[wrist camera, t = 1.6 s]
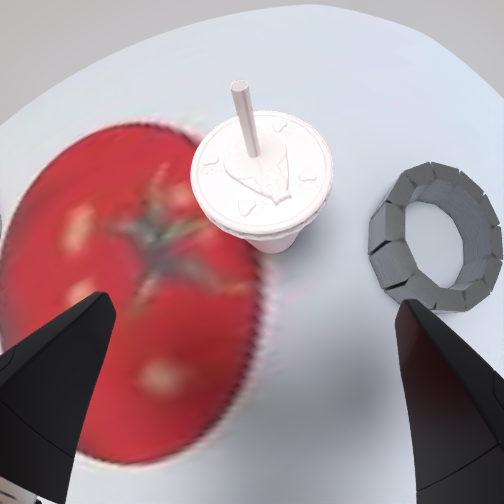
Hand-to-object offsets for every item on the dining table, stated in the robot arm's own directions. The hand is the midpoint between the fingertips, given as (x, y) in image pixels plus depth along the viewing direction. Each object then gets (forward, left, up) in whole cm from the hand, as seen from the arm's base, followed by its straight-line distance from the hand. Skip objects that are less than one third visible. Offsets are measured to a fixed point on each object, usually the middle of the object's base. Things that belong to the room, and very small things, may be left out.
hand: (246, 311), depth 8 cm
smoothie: (+6, -2, -13) cm, 14 cm away
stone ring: (0, -13, -12) cm, 18 cm away
